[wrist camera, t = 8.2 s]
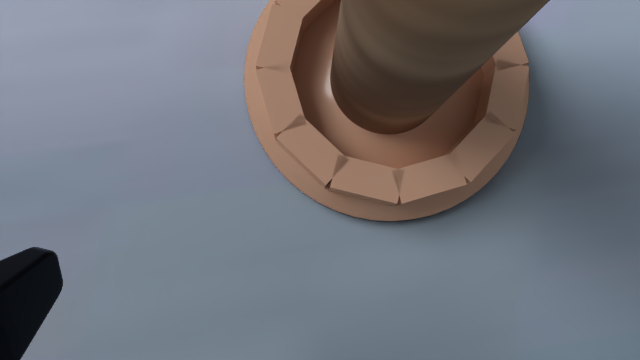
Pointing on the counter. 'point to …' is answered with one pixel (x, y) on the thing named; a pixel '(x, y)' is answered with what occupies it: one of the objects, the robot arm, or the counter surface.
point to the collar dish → (368, 147)
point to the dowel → (414, 54)
